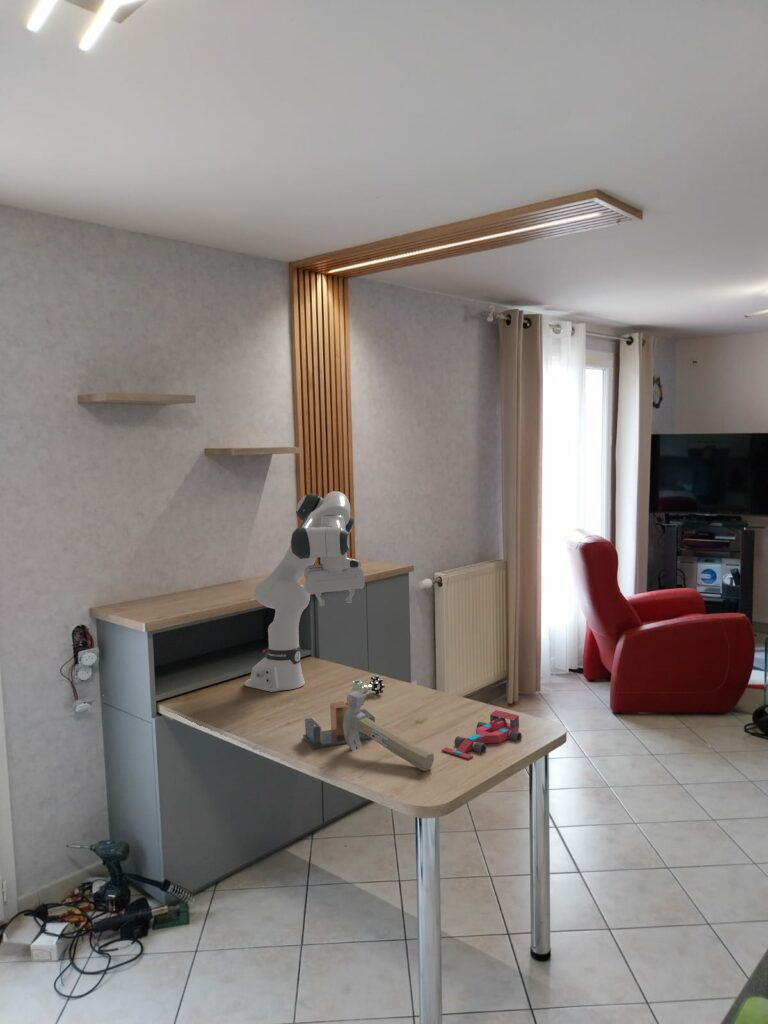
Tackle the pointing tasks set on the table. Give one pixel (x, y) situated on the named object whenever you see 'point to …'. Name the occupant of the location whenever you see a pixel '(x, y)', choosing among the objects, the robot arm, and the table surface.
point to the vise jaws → (327, 734)
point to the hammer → (380, 735)
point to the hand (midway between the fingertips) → (335, 604)
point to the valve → (368, 686)
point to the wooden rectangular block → (337, 718)
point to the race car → (488, 734)
